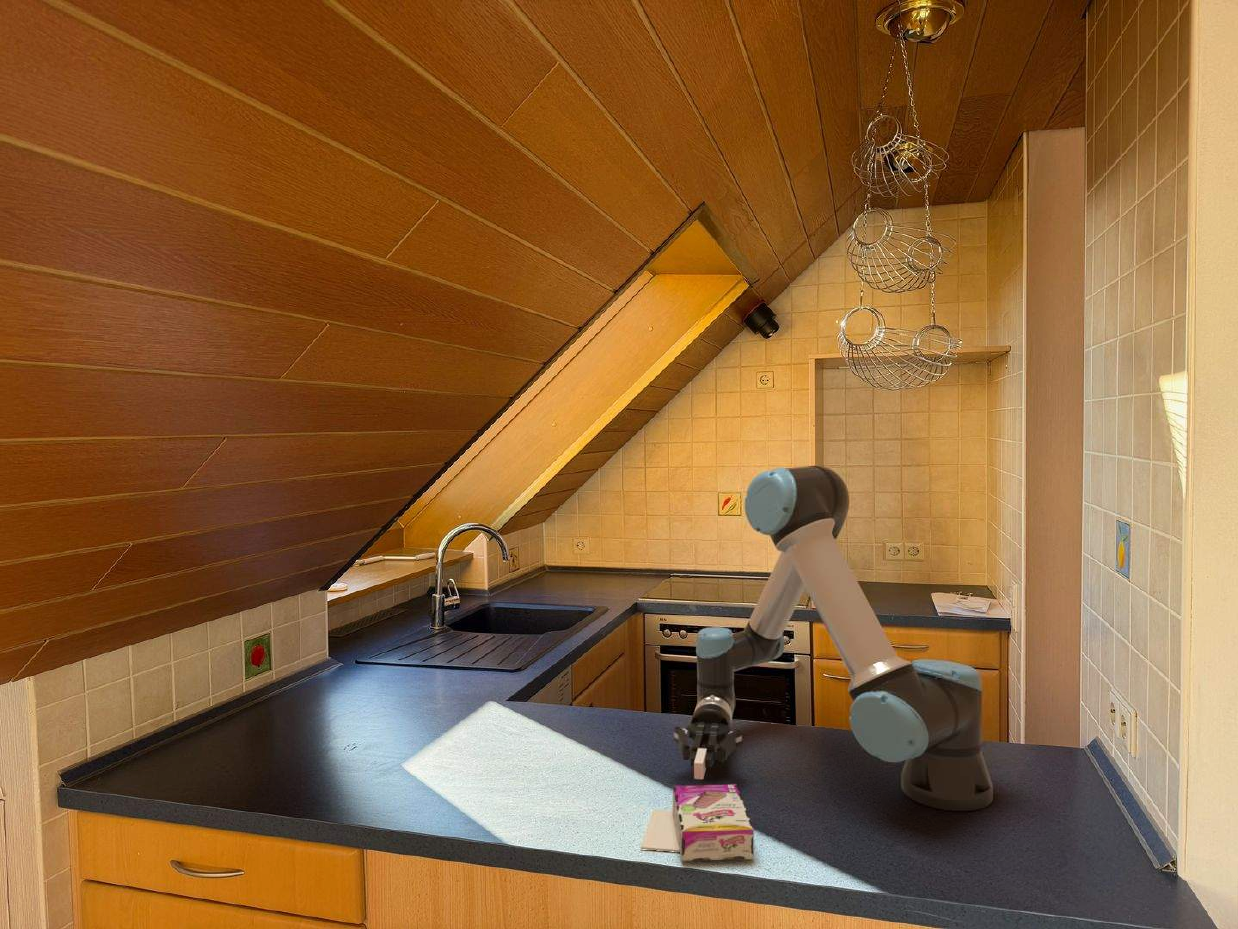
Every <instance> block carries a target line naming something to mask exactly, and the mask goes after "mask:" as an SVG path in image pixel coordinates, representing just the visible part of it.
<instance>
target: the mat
mask: <svg viewBox="0 0 1238 929" xmlns="http://www.w3.org/2000/svg"><path fill="white" fill-rule="evenodd" d="M641 849H647V850H660V851H661V850H662V851H674V852H680V848H679V843H678V837H677V832H676V827H675V822H674V817H673V809H672V810H669V809H668V810H667V809H657V808H656V809H655V808H654V809H653V811H652V812H651V816H650V819H649V821H648V824H647V828H646V831H645V834H644V837H643V839H642V842H641V845H640V850H641Z"/></svg>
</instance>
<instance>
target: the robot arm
mask: <svg viewBox="0 0 1238 929" xmlns="http://www.w3.org/2000/svg"><path fill="white" fill-rule="evenodd" d="M849 508H850V493H849V490H848V487H847V485H846V483H845V481H844V480H843V479H842V477H841V476H840V475H839V474H838V473H837V472H836V471H834V470H833V469H831V468H828V467H825V466H822V465H809V466H800V467H787V468H785V467H776V468H774V469H769V470H764V471H762V472H760V473H758V474H757V475H756V476H755V477H754V478H753V479H752V480H751V482H750V483H749V485H748V487H747V490H746V496H745V497H744V512H745V516H746V520H747V521H748V524H749V525H750V526H751V528H753V530H754V531H756V532H759V533H760V534H762V535H764V536H769V537H770V539H771V541H772V543H773V545H774V547H775V549H776V550H777V552H780V554H779V556H778V558H777V560H776V563H775V565H774V566H773V568H772V571H771V573H770V576H769V577H768V579H767V581H766V584H765V586H764V588H763V591H762V592H761V594H760V597H759V599H758V601H757V603H756V605H755V607H754V610H753V611H752V613H751V615H750V617H749V620H748V622H747V623H746V626H745V628H744V630H743V631H739V632H735V633H733V632H732V630H731V629H729V628H726V627H722V626H721V627H719V626H713V627H705V628H702V629H700V630H699V631H697V632H698V633H697V635H696V647H695V653H696V672H697V673H696V676H697V680H696V681H697V683H696V684H697V685H696V686H697V687H696V692H697V694H696V695H697V697H696V698H697V702H696V705H695V709H694V712H693V714H692V718H691V719H690V720H691V721H690V724H689V725H687V726H686V728H682V727H680V726H674V727H673V736H674V738H673V740H674V742H675V743H676V744H677V745H678V747H679V750H680V754H681V757H682V758H681V759H682V760H684V761H688V760H689V766H690V767H691V768H692V767H693V772H694V773H693V778H694V779H695V780H703V779H704V777H705V773H706V770H707V768H708V769H711V768H713V764H714V762H715V761H716V760H717V762H718V763H724V762H725V761H726V760H727V759H728V757H729V756H730V755H731V754H732V752H733V751H734V750H735V749H736V748H738V747H739V746H742V744H743V731H742V730H741V729H736V730H734V731H732V729H731V726H732V720H733V715H734V712H735V709H736V695H735V685H734V684H735V672H738V671H740V670H744V669H747V668H750V667H754V666H758V665H762V664H767V663H770V662H772V661H773V660H776V659H778V658H780V657H781V656H782V654H783V653H784V651H785V642H786V641H785V637H784V631H785V629H786V627H787V626H788V623H789V621H790V619H791V617H792V615H793V614H794V612H795V609H796V607H797V606H798V603H799V602H800V599H801V597H802V595H803V594H804V592H805V590H806V591H807V594H808V596H809V598H810V600H811V601H812V603H813V605H814V607H815V609H816V612H817V613H818V616H819V617H820V618H821V622H822V623H823V625H824V627H825V629H826V631H827V633H828V634H829V637H830V639H831V641H832V643H833V645H834V646H835V648H836V651H837V653H838V654H839V657H840V658H841V660H842V662H843V665H844V667H845V669H846V670H847V672H848V674H849V676H850V681H849V685H848V688H847V691H848V694H849V696H850V698H851V700H852V704H851V706H850V709H849V714H850V716H849V718H848V719H849V720H848V721H849V724H850V729H851V731H852V734H853V735H854V737H855V739H856V740H857V742H858V743H859V745H860V746H861V747H862V748H863V750H865V751H866V752H867V753H868V754H870V755H871V756H873V757H875V758H878V759H879V760H881V761H884V762H888V763H900V762H904V761H905V762H904V765H903V768H902V771H901V776H900V781H901V782H900V788H901V791H902V793H904V794H905V795H906V796H907V798H909V799H911V800H912V801H915V802H916V803H919V804H921V805H923V806H926V807H930V808H934V809H938V810H944V811H952V812H967V811H978V810H982V809H984V808H987V807H988V806H989V805H991V804H992V802H993V800H994V786H993V782H992V780H991V776H990V774H989V770H988V768H987V764H986V762H985V758H984V756H983V750H982V749H983V747H982V746H983V745H982V744H983V743H982V742H983V738H982V736H983V729H982V728H983V725H982V723H983V715H982V714H983V702H982V701H983V692H984V691H983V690H984V689H983V688H982V686H983V685H982V676H981V673H980V672H979V670H977V669H975V668H974V667H972V666H970V665H966V664H964V663H958V662H953V661H948V660H943V659H942V660H941V659H930V658H929V659H925V658H922V659H921V658H920V659H916V660H913V661H912V662H911V661H909V660H906V659H903V658H901V657H899V656H898V655H897V653H896V651H895V649H894V647H893V646H892V643H891V642H890V640H889V638H888V635H887V634H886V632H885V630H884V629H883V627H882V625H881V623H880V621H879V619H878V617H877V616H876V614H875V612H874V610H873V608H872V606H871V604H870V603H869V600H868V599H867V597H866V595H865V594H864V591H863V590H862V588H861V586H860V584H859V582H858V580H857V578H856V576H855V574H854V573H853V571H852V569H851V568H850V567H851V566H850V564H849V563H848V561H847V560H846V558H845V556H844V554H843V552H842V550H841V548H840V547H839V545H838V543H837V541H836V540H837V539H838V537H839V535H840V533H841V531H842V529H843V527H844V525H845V523H846V519H847V516H848V513H849ZM688 739H689V740H691V741H693V743H692V746H690V743H689V740H688ZM704 747H706V748H704Z"/></svg>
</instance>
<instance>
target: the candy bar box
mask: <svg viewBox="0 0 1238 929" xmlns="http://www.w3.org/2000/svg"><path fill="white" fill-rule="evenodd" d="M672 811H673V817H674V822H675V827H676V832H677V837H678V843H679V848H680V853H679V854H680V859H681V861H682V862H683V861H719V860H720V861H724V860H725V861H730V860H732V861H733V860H739V861H740V860H755V854H754V853H755V851H754V843H755V841H754V839H755V836H754V834H755V832H754V827H753V824H752V821H751V819H750V815H749V813H748V810H747V808H746V806H745V803H744V801H743V797H742V795H741V792H740V789H739V787H738V784H736V783H729V784H728V783H725V784H696V785H695V784H692V785H691V784H689V785H688V784H687V785H686V784H685V785H672Z"/></svg>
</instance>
